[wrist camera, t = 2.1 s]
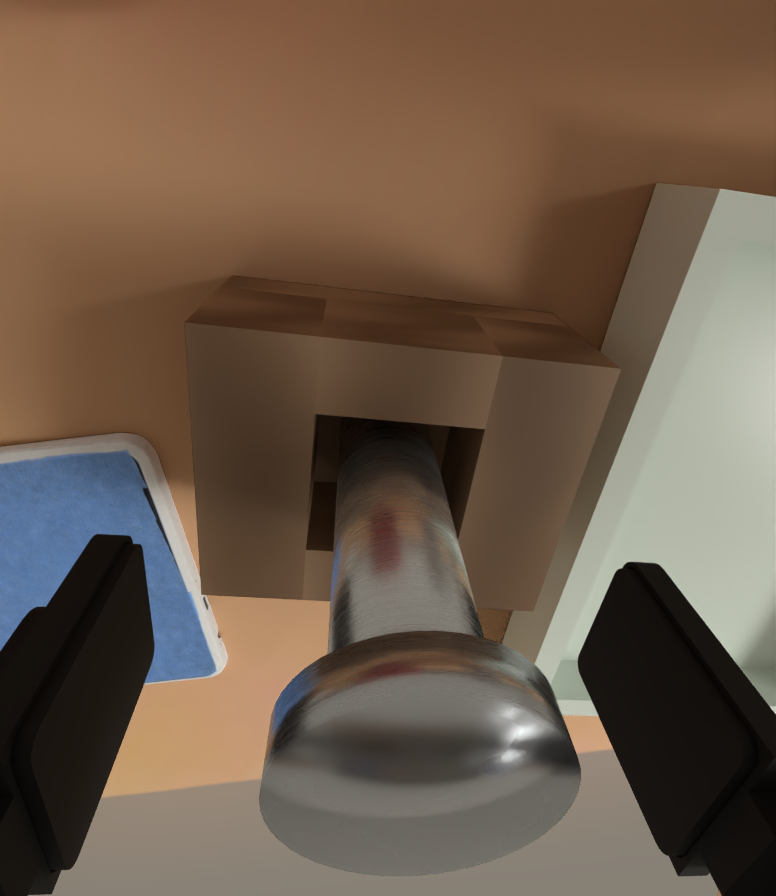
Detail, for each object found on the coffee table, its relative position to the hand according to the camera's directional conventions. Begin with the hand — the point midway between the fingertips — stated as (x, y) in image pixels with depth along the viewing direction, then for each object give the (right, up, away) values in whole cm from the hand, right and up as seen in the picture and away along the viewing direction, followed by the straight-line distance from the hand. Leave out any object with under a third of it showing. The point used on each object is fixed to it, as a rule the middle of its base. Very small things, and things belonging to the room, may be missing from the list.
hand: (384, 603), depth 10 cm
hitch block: (0, +4, +8) cm, 9 cm away
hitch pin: (0, +4, +6) cm, 7 cm away
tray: (+13, +1, +10) cm, 17 cm away
